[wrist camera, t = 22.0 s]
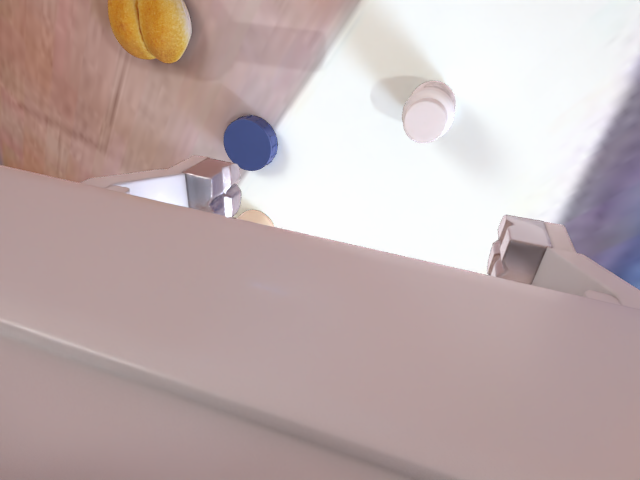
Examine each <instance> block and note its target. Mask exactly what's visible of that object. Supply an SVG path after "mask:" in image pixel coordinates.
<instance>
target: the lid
mask: <svg viewBox="0 0 640 480" xmlns="http://www.w3.org/2000/svg"><path fill="white" fill-rule="evenodd" d="M277 146H278V144H277V138H276V135H275V132H274V130H273V129H272V127H271V126H270V124H268V123H267V122H266V121H265V120H263V119H262V118H259V117H257V116H252V115H250V116H244V117H243V116H242V117H240V118H238V119H237V120H236V121H234V122H232V123H231V124H230V125H229V126H228V127H227V129H226V131H225V134H224V147H225V150H226V153H227V155H228V156H229V158H230V159H231V161H232V162H233V163H235V164H238V166H239V167H240V168H242V169H244V170H249V171H255V170H259V169H261V168H263V167H264V166H265V165H268V164H269V163H270V162H272V160H273V158H274V157H275V155H276V154H277V153H276V152H277Z"/></svg>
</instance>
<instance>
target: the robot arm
mask: <svg viewBox="0 0 640 480" xmlns="http://www.w3.org/2000/svg"><path fill="white" fill-rule="evenodd" d="M240 179H241V175H240V168H239V166H238V164H235V163H230V162H225V161H221V160H216V159H211V158H209V157H203V156H197V155H193V156H191V157H190V158H188V159H186V160H184V161H182V162H180V163H178V164H176V165H174V166H172V167H170V168H169V169H167V170H166V169H157V170H149V171H142V172H134V173H127V174H119V175H112V176H104V177H97V178H89V179H87V180H85V181H83V182H81V183H77V182H73V181H68V180H64V179H60V178H55V177H51V176H46V175H42V174H37V173H33V172H29V171H24V170H20V169H15V168H11V167H6V166H2V165H0V480H640V290H638V289H637V288H635V287H634V286H632V285H630V284H629V283H627V282H626V281H624V280H623V279H621V278H619V277H618V276H616V275H615V274H613V273H611V272H610V271H608V270H607V269H605V268H604V267H602V266H600V265H599V264H597V263H596V262H594V261H592V260H591V259H589V258H588V257H586V256H584V255H583V254H578V253H576V251H575V249H574V246H573V244H572V242H571V240H570V237H569V235H568V233H567V231H566V228H565V226H564V225H560V224H554V223H548V222H544V221H540V220H534V219H528V218H522V217H516V216H510V215H504V216H503V218H502V220H501V222H500V225H499V228H498V237H499V240H497V241H496V242H494V243H493V245H492V248H491V251H490V255H489V259H488V266H487V274H488V275H485V274H481V273H476V272H472V271H467V270H463V269H458V268H454V267H450V266H445V265H441V264H436V263H432V262H427V261H423V260H419V259H414V258H410V257H405V256H401V255H396V254H392V253H388V252H383V251H379V250H374V249H370V248H365V247H361V246H356V245H352V244H348V243H343V242H339V241H334V240H330V239H325V238H321V237H316V236H312V235H308V234H303V233H299V232H294V231H290V230H285V229H281V228H276V227H272V226H268V225H263V224H259V223H254V222H250V221H245V220H241V219H237V218H232V217H233V216H234V215H235V214H236V213H237V211H238V209H239V207H240V204H241V190H240V188H239V187H238V185H237V183H238V181H239V180H240Z"/></svg>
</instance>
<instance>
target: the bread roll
mask: <svg viewBox="0 0 640 480" xmlns="http://www.w3.org/2000/svg"><path fill="white" fill-rule="evenodd" d="M108 15H109V20H110V24H111V28H112V30H113V33H114V35H115V37H116V39H117V40H118V42H119V43H120V45H121V46H122V47H123V48H124V49H125V50H126V51H127V52H128V53H130V54H131V55H133V56H135V57H138V58H141V59H154V58H157V59H158V60H160V61H162V62H164V63H173V62H176V61H178V60H179V59H180V58H181V56H182V55H183V53H184V51H185V50H186V48H187V45H188V43H189V40H190V37H191V34H192V25H191V20H190V15H189V12H188V9H187V7H186V5H185V3H184V1H183V0H108Z"/></svg>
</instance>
